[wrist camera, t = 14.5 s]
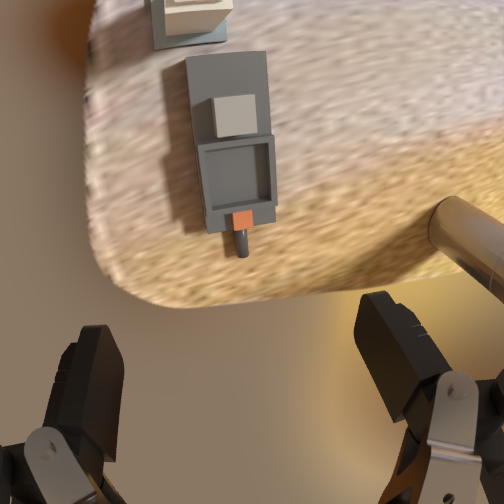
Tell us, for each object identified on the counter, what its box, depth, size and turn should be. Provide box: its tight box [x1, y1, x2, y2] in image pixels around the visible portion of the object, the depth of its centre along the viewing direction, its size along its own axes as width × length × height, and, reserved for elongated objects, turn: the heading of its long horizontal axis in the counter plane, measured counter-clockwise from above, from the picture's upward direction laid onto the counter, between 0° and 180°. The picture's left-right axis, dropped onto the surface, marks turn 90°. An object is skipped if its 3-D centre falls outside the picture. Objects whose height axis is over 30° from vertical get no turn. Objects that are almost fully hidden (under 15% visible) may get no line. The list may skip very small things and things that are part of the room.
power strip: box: [185, 51, 278, 258], centre depth 31 cm, size 7×22×4 cm, turn 4°
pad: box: [150, 0, 227, 50], centre depth 24 cm, size 7×7×1 cm
